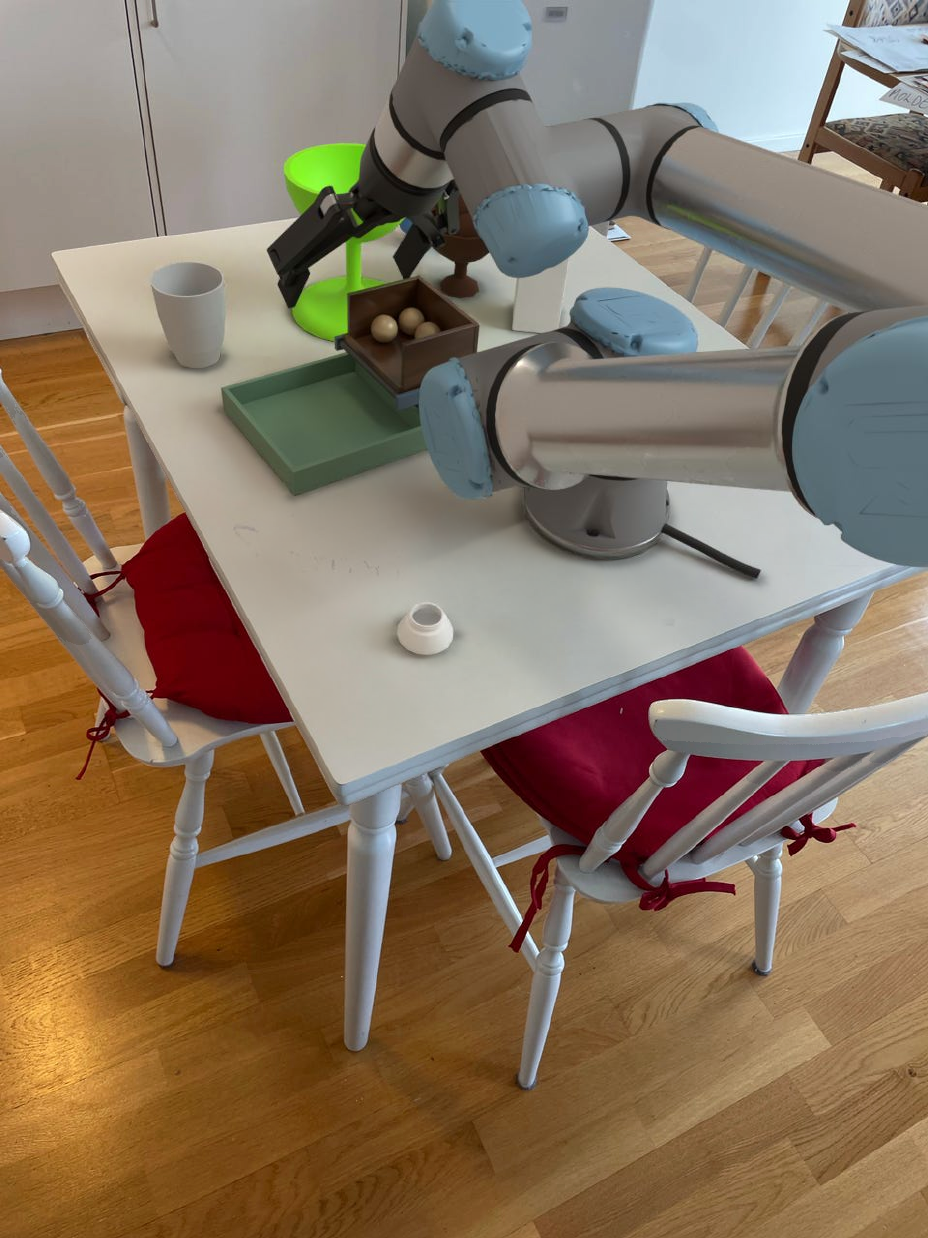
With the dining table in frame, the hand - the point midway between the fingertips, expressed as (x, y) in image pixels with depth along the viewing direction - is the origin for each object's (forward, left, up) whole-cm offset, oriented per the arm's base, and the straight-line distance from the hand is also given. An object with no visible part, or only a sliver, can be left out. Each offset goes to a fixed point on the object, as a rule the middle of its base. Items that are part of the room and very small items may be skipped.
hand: (345, 281), depth 99 cm
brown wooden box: (-3, -6, -9) cm, 12 cm away
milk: (+5, -31, -16) cm, 35 cm away
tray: (-3, +4, -15) cm, 16 cm away
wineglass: (+18, -11, -16) cm, 27 cm away
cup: (+17, +11, -16) cm, 25 cm away
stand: (-3, -6, -15) cm, 17 cm away
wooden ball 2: (+1, -9, -7) cm, 11 cm away
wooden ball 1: (+1, -5, -7) cm, 9 cm away
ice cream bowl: (+17, -27, -16) cm, 36 cm away
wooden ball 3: (-3, -9, -7) cm, 12 cm away
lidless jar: (-35, +12, -16) cm, 40 cm away
